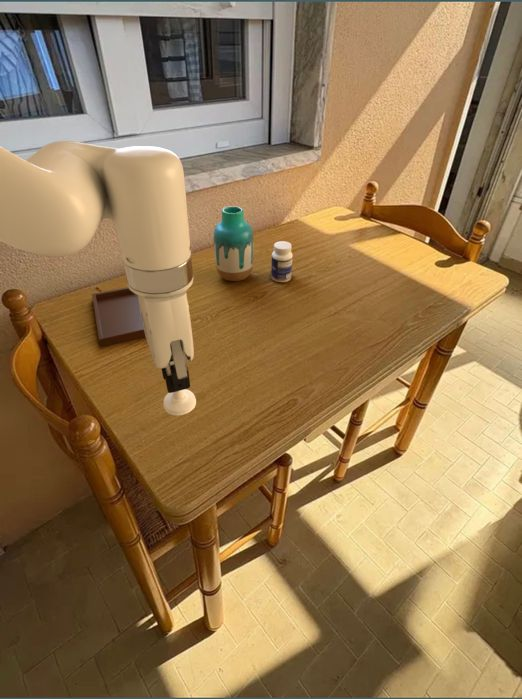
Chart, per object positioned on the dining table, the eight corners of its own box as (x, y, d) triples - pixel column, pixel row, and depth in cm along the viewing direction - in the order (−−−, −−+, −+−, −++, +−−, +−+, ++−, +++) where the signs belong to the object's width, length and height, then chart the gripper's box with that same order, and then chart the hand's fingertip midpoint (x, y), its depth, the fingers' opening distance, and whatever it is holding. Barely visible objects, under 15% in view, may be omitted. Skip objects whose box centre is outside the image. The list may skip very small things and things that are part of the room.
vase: (216, 288, 102) (211, 218, 90) (215, 269, 110) (210, 202, 98) (255, 286, 103) (256, 217, 91) (251, 267, 111) (251, 201, 99)
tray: (101, 346, 83) (98, 339, 82) (94, 300, 97) (91, 293, 96) (163, 332, 87) (161, 325, 86) (148, 290, 101) (146, 283, 100)
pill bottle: (269, 273, 109) (270, 240, 102) (289, 272, 109) (291, 239, 103) (272, 283, 105) (273, 250, 98) (292, 282, 105) (295, 249, 99)
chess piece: (157, 401, 58) (146, 352, 52) (184, 386, 61) (177, 338, 54) (175, 421, 56) (166, 371, 49) (202, 404, 58) (197, 355, 52)
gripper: (116, 245, 48) (140, 355, 60) (137, 314, 37) (162, 431, 49) (175, 237, 50) (187, 344, 62) (212, 299, 39) (218, 415, 51)
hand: (176, 382), depth 55 cm, fingers closed on chess piece
